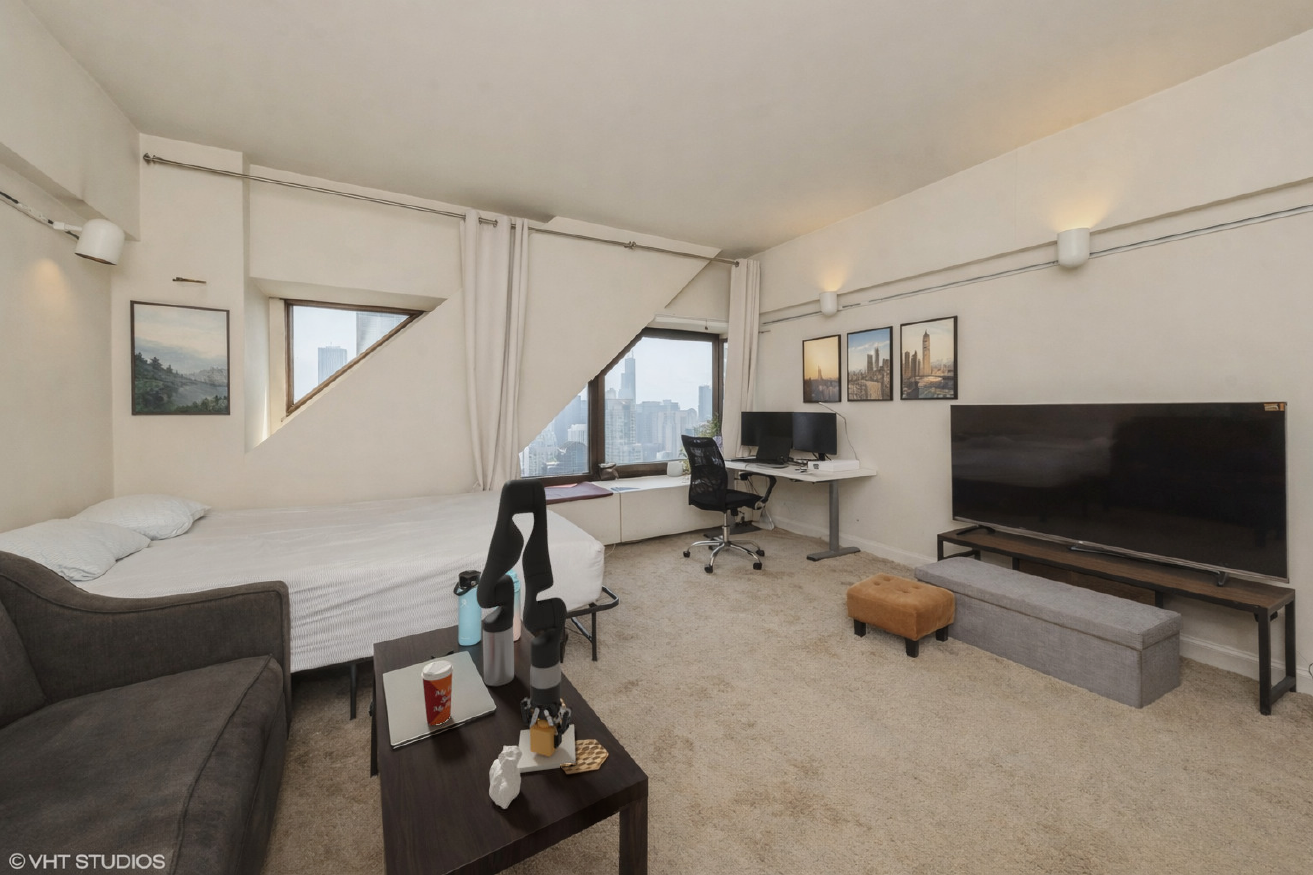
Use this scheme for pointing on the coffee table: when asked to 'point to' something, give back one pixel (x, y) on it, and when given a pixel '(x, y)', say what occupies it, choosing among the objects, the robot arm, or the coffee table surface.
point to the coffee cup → (437, 691)
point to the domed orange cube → (542, 738)
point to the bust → (505, 776)
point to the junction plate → (542, 762)
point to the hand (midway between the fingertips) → (546, 743)
